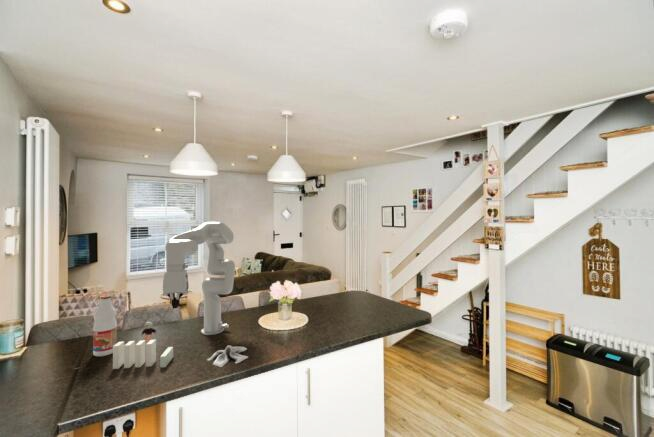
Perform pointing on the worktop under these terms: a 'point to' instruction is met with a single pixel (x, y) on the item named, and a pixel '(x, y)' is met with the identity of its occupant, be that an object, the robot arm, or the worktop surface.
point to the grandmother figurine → (148, 332)
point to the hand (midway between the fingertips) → (175, 307)
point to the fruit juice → (104, 327)
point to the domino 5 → (166, 357)
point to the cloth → (228, 355)
